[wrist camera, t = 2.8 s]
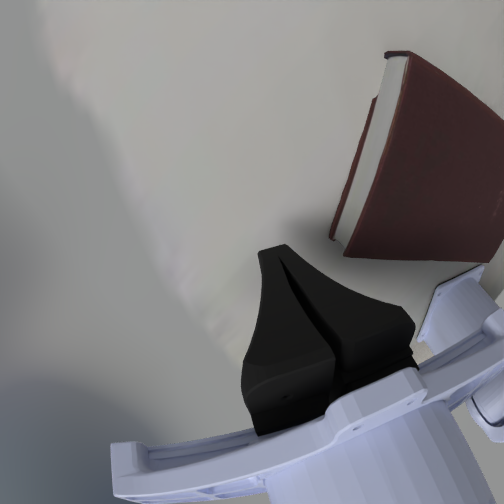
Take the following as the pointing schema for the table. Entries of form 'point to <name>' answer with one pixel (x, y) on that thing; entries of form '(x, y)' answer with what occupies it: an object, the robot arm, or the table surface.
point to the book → (424, 171)
